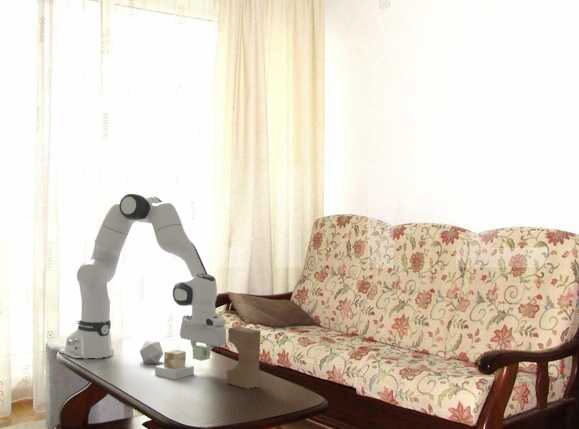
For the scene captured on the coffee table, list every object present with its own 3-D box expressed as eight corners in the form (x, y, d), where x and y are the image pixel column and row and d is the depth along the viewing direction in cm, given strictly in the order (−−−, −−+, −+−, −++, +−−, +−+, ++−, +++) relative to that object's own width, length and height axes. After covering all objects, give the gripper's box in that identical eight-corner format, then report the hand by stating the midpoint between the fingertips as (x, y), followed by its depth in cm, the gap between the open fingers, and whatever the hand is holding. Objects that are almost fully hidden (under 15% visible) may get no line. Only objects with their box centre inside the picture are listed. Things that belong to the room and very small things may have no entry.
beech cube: (164, 366, 269) (164, 351, 269) (174, 363, 274) (174, 349, 273) (175, 369, 266) (175, 354, 266) (185, 366, 270) (185, 351, 270)
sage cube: (192, 358, 273) (193, 346, 273) (200, 356, 276) (201, 344, 276) (201, 360, 270) (202, 348, 270) (209, 358, 274) (210, 346, 274)
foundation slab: (155, 374, 268) (155, 366, 268) (173, 369, 277) (174, 361, 277) (175, 379, 263) (175, 371, 263) (193, 374, 271) (194, 366, 271)
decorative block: (225, 383, 261) (227, 327, 260) (237, 380, 265) (239, 325, 264) (247, 390, 253) (249, 332, 252) (259, 387, 257) (261, 330, 257)
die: (151, 368, 280) (167, 346, 283) (132, 355, 281) (148, 333, 284) (154, 370, 288) (169, 349, 291) (136, 358, 289) (151, 337, 292)
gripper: (177, 314, 276) (175, 350, 277) (218, 323, 264) (216, 360, 265) (188, 312, 281) (186, 347, 282) (229, 320, 270) (227, 357, 270)
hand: (201, 354), depth 273 cm, fingers closed on sage cube, 4 cm apart
